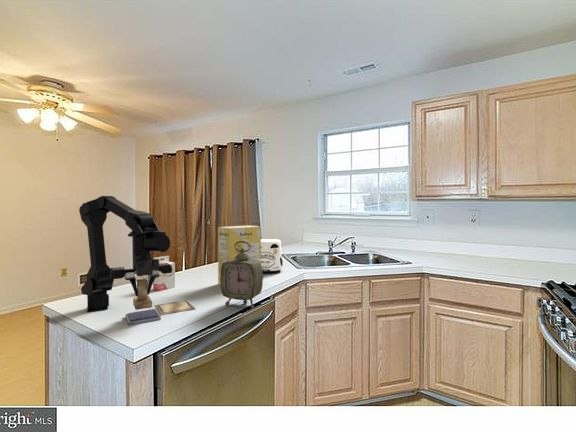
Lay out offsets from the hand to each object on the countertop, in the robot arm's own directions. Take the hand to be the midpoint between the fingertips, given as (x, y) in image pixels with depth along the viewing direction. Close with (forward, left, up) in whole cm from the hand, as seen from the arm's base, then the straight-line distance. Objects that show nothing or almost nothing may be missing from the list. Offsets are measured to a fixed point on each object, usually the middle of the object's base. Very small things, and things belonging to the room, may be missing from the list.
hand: (142, 295), depth 109 cm
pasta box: (+48, +28, -8) cm, 56 cm away
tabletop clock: (+35, -5, -8) cm, 36 cm away
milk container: (+73, +45, -8) cm, 86 cm away
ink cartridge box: (+14, +37, -8) cm, 40 cm away
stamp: (0, 0, -4) cm, 4 cm away
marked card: (+12, +6, -8) cm, 15 cm away
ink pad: (0, 0, -8) cm, 8 cm away
